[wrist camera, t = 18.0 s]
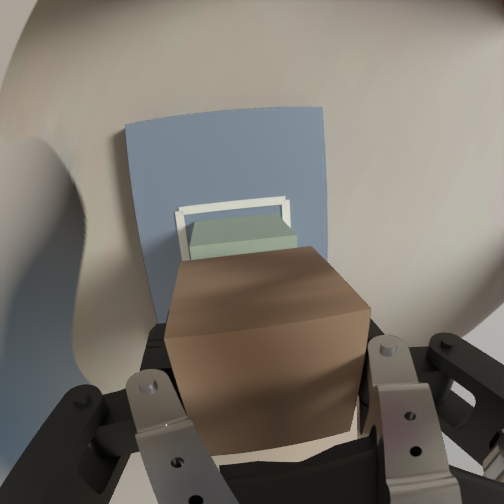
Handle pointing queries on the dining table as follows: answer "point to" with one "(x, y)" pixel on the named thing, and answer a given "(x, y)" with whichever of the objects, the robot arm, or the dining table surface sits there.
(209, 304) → the walnut block
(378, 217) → the dining table surface
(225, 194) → the blueprint board
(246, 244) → the green block
